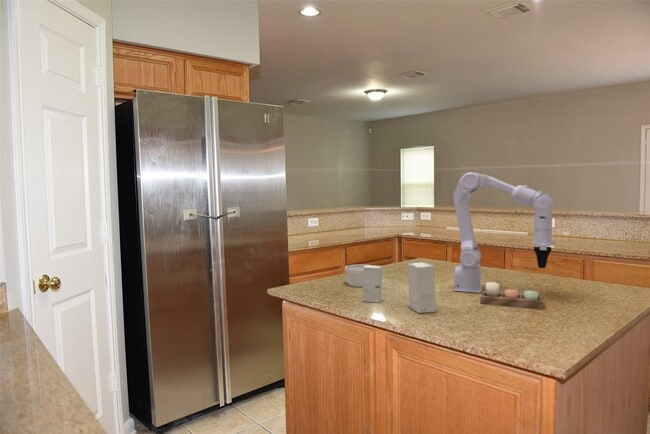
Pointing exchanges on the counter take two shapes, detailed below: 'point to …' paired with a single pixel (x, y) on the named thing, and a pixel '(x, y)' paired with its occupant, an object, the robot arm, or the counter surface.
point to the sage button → (531, 295)
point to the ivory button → (492, 289)
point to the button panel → (511, 301)
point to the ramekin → (354, 275)
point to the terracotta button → (511, 293)
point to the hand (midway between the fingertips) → (541, 267)
